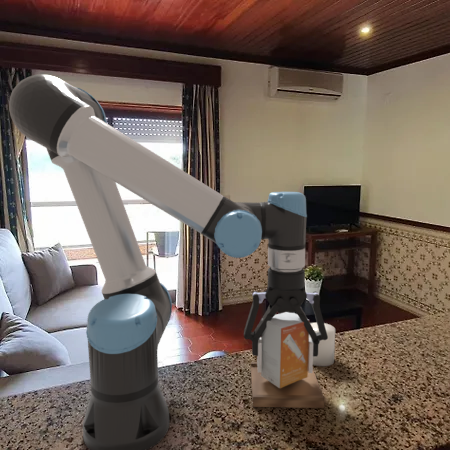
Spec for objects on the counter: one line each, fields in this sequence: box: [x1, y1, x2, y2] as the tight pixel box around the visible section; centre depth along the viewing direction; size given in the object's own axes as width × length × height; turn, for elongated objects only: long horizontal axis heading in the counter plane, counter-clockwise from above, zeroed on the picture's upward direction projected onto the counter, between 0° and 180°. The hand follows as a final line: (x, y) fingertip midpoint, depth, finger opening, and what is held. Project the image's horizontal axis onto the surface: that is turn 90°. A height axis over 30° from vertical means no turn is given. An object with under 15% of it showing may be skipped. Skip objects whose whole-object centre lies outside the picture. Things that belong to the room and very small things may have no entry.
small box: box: [260, 312, 310, 388], centre depth 83 cm, size 8×6×13 cm
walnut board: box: [250, 361, 326, 409], centre depth 84 cm, size 14×14×2 cm
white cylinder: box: [309, 322, 336, 367], centre depth 97 cm, size 7×9×8 cm
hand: (284, 369), depth 83 cm, fingers closed on small box, 10 cm apart
